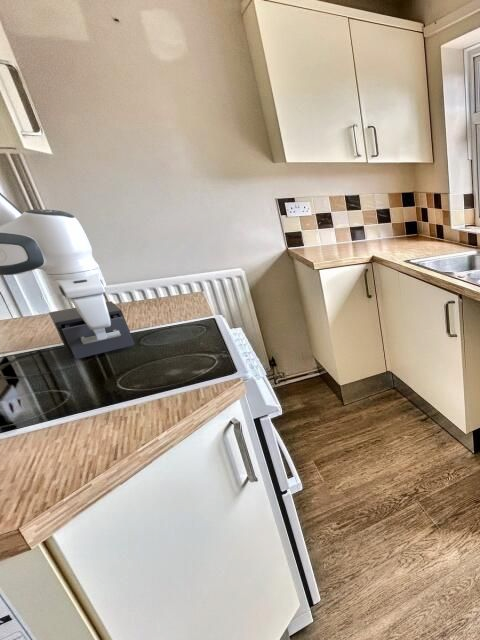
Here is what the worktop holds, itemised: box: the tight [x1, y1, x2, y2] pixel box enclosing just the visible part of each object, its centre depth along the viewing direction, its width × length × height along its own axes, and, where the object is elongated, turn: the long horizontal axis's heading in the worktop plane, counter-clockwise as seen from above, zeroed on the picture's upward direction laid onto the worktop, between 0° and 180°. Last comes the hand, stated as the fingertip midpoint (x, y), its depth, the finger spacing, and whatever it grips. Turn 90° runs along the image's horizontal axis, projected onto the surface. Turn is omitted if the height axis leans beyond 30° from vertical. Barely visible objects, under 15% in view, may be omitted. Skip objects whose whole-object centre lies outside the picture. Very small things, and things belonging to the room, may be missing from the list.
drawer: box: [62, 314, 135, 360], centre depth 109 cm, size 17×11×8 cm
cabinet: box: [48, 301, 135, 359], centre depth 113 cm, size 14×13×10 cm
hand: (102, 338), depth 102 cm, fingers closed
